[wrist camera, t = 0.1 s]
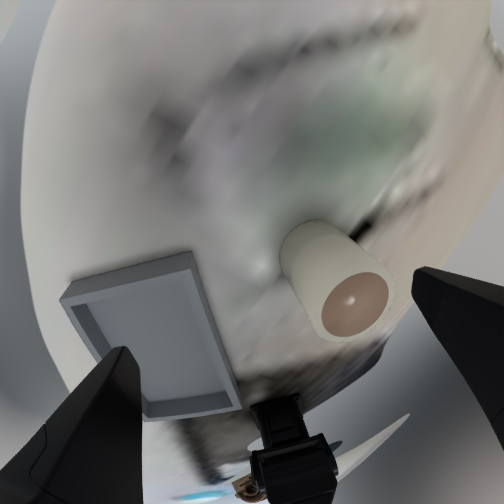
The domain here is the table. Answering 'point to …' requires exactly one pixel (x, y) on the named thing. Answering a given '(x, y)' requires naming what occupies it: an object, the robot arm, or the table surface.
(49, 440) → the robot arm
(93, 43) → the table surface
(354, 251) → the ceramic cup
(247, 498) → the brown wooden mallet
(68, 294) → the desk tray
